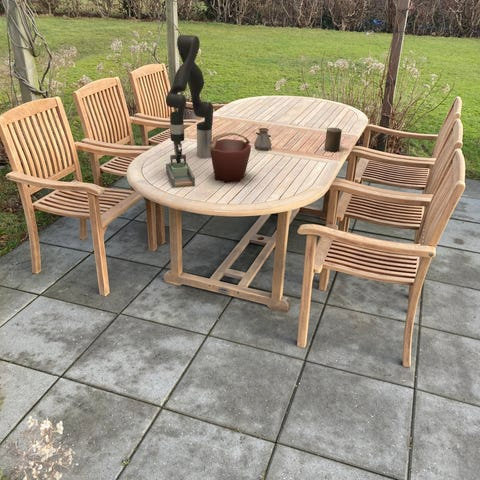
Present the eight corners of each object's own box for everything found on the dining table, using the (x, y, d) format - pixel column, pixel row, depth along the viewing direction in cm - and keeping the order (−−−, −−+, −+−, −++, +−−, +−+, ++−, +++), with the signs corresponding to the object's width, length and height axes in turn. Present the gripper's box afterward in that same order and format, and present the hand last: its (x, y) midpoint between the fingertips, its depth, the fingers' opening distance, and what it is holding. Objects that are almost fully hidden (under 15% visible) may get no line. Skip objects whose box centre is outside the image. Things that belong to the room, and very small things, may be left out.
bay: (187, 170, 290) (186, 162, 287) (194, 185, 270) (194, 177, 268) (166, 171, 287) (165, 163, 284) (172, 187, 267) (172, 179, 265)
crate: (184, 169, 287) (183, 151, 282) (187, 176, 279) (187, 157, 273) (169, 170, 285) (169, 152, 280) (172, 177, 277) (171, 158, 271)
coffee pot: (257, 144, 333) (258, 122, 326) (273, 147, 330) (275, 124, 322) (246, 154, 316) (246, 131, 308) (263, 157, 312) (264, 134, 305)
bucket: (211, 186, 271) (211, 141, 259) (202, 171, 289) (202, 128, 277) (254, 182, 277) (257, 138, 265) (243, 168, 296) (244, 126, 283)
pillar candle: (337, 153, 323) (341, 130, 316) (322, 151, 326) (325, 128, 318) (340, 148, 331) (343, 126, 324) (325, 146, 334) (328, 124, 327)
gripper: (186, 135, 265) (187, 166, 274) (181, 127, 277) (182, 157, 285) (172, 136, 263) (173, 167, 272) (168, 128, 275) (169, 158, 284)
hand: (178, 161), depth 279 cm, fingers closed on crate, 2 cm apart
